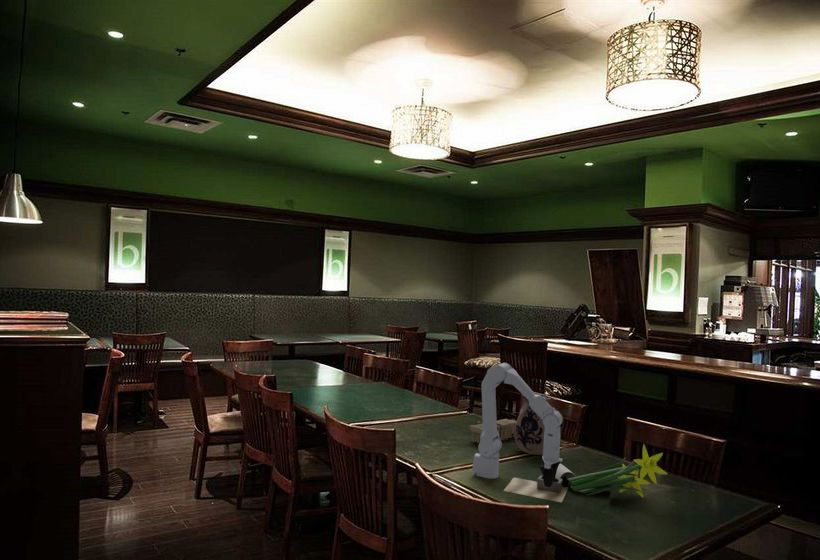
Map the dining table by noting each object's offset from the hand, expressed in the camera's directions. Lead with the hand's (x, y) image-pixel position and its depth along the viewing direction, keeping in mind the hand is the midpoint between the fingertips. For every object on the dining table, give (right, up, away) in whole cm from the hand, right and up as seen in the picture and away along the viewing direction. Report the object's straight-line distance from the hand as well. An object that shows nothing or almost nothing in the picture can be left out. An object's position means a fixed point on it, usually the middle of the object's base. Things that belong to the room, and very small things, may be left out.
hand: (549, 483), depth 199 cm
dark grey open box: (0, -2, 0) cm, 2 cm away
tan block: (-9, -4, +69) cm, 69 cm away
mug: (+8, -2, +16) cm, 18 cm away
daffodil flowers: (+23, -5, 0) cm, 23 cm away
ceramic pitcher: (+6, -5, +52) cm, 52 cm away
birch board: (-5, -3, -1) cm, 6 cm away
